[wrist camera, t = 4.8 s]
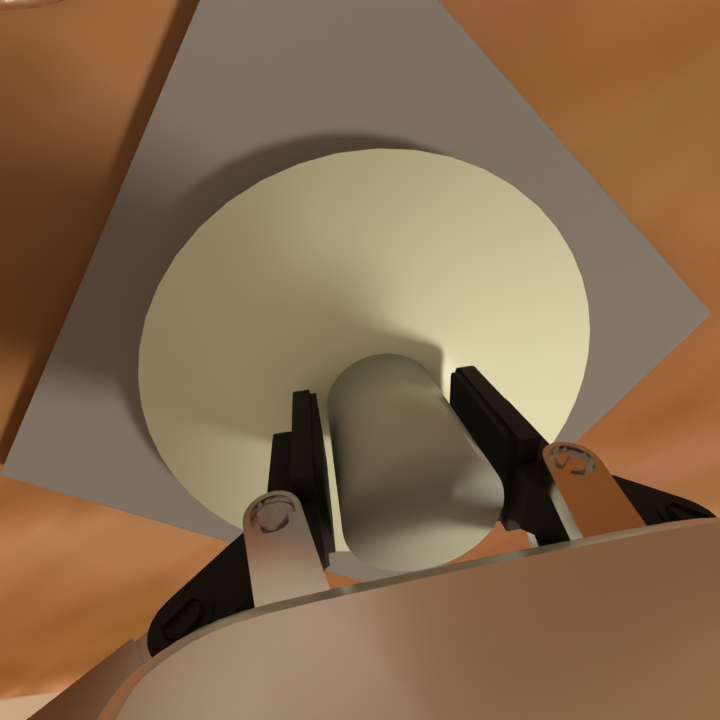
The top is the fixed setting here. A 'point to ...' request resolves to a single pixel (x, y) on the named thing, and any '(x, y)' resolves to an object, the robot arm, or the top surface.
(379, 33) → the mat
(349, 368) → the lid
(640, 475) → the top surface
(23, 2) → the bowl
